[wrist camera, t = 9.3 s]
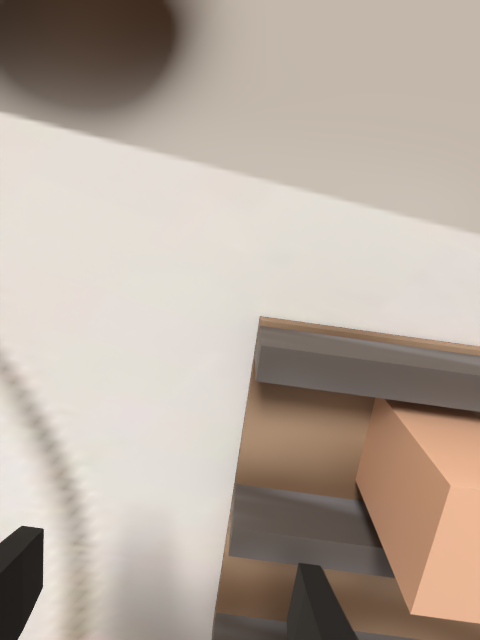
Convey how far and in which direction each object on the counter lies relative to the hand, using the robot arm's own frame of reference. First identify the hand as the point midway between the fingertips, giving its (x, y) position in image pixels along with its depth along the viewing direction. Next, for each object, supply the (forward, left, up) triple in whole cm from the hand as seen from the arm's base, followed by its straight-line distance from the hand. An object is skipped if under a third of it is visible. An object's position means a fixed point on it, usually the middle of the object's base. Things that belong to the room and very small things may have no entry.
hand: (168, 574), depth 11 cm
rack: (-4, -10, -9) cm, 14 cm away
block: (0, -10, -9) cm, 13 cm away
